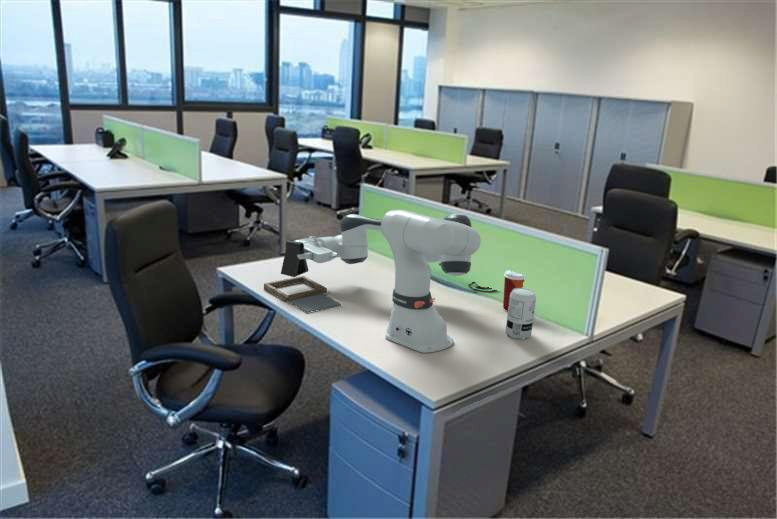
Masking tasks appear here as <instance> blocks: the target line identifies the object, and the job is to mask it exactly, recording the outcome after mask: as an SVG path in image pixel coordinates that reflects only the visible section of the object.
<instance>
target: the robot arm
mask: <svg viewBox="0 0 777 519" xmlns="http://www.w3.org/2000/svg"><path fill="white" fill-rule="evenodd" d="M339 229H340V232H341V234H338V235H335V236H321V237H320V236H314V235H312V236H309V237H308V238H301V239H295V240H294V241H297V242H302V243H303V244H304V253H305V254H302V253H300V254H297V256H298V259H306V260H309V261H310V260H311V261H313V262H315V263H317V264H324V263H327V262H331V261H332V260H335V259H337V258H340V260H341V261H342V262H344V263H345V264H347V265H353V264H354V265H355V264H359V263H363V262H365V261H366V260H367V258H368V256H369V245H368V230H372V231H379V232H381V233H382V234H381V235H382V236H383V237H384V239H385V240H386V242H387V243H388V245H389V247H390V251H391V253H392V257H393V262H394V268H395V269H394V288H393V291H392V295H391V296H392V302H393V303H392V307H391V311H390V317H389V322H388V326H387V329H386V334H385V339H386V340H389V341H390V342H391V341H392V342H394V343H396V344H398V345H401V346H404V347H407V348H410V349H411V350H414V351H417V352H419V353H423V354H424V353H435V352H439V351H440V352H441V351H442V350H446V349H447V348H450V347H452V346H453V345H454V343H455V342H454V341H455V339H453V338H452V337H451V336H450V335H448V334H447V332H448V330H447V329H448V328H447V324H446V322H445V320H444V318H443V316H441V314H439V312H438V311H437V309H436V308H435V306H434V303H435V302H436V297H434V298H433V297H432V292H431V291H430V290H431V274H432V268H431V266H430V263H438V266H440V268H441V270H442V271H443V272H444V273H445V274H446V275H449V276H452V277H460V276H463V275H466V274H468V273H469V272H470V271H471V266H472V261H471V260H472V255H474V254H475V253H476V252H477V251H478V250H479V248H480V246H481V243H482V242H481V240H482V239H481V235H480V233H479V232H478V231H477V230H476V229H475V228H474V227H473V226H472V222H471V219H470V218H469V217H468V216H467V215H464V214H461V213H452V214H450V215H446V216H445V217H444V218H437V217H432V216H428V215H426V214H425V215H424V214H421V213H418V212H414V211H409V210H406V209H392V210H391V209H390V210H389V211H388V212H386V213H385V214H384V216H383V217H382V219H378V218H373V217H367V216H363V215H359V214H355V213H352V214H351V213H350V214H346V215H345V216H344V217H342V219H341V221H340V222H339Z"/></svg>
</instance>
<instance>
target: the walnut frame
mask: <svg viewBox="0 0 777 519" xmlns="http://www.w3.org/2000/svg"><path fill="white" fill-rule="evenodd" d="M294 283H295V284H300V283H303V284H306V285H307V286H309V287H311V288H313V289H310V290H305V291H301V292H296V293H290V294H286V293H285V292H283V291H282V290H280V289H278V288H279V287H284V285H285V286H289V285H290V286H291V285H295V284H294ZM274 287H275V288H274ZM263 289H264V290H265V289H266V290H265V291H267V292H269V293H270V292H271V293H270V294H272V295H274V296H275V295H276V296H275V297H277V296H278V297H277V298H279V300H280V299H281V300H282V301H283V302H285V301H286V303H288V302H287V301H290V300H295V299H300V298H304V297H309V296H313V295H318V294H324V295H326V294H328V287H326V286H324V285H323V284H320V283H319V282H316V281H314V280H313V279H311V278H308V277H307V276H305V275H302V276H300V275H299V276H296V277H290V278H286V279H281V280H275V281H270V282H264V283H263Z"/></svg>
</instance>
